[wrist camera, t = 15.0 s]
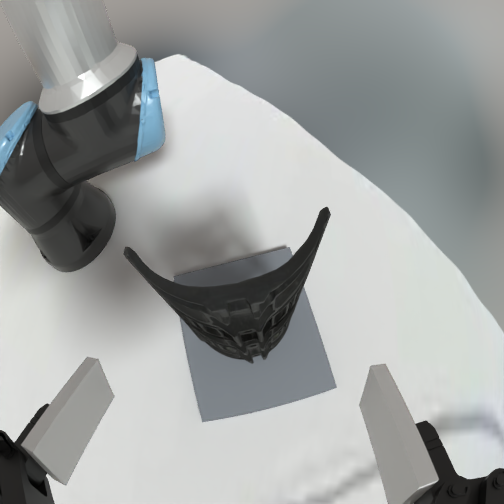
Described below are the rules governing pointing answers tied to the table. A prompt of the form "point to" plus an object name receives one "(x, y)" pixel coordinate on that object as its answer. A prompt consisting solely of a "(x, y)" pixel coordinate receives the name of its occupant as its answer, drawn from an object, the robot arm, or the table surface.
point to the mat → (261, 371)
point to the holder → (241, 302)
